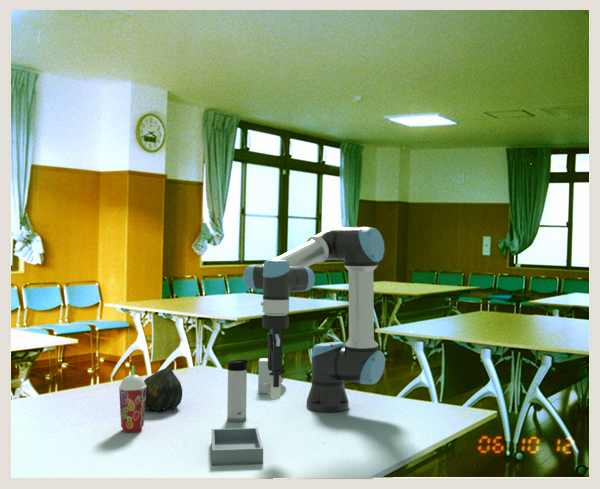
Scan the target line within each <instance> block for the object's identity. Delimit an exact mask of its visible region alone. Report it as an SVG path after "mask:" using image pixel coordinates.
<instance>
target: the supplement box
mask: <svg viewBox="0 0 600 489" xmlns="http://www.w3.org/2000/svg"><path fill="white" fill-rule="evenodd" d="M267 364H268V357H262V358H261V357H260V358H259V359H258V374H257V375H258V379H257V380H258V381H257V384H258V385H257V387H258V388H257V393H258V394H266V393H265V392H264V387H263V384H265V383H268V371H270V370H269V369H268V365H267Z"/></svg>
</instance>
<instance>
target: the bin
mask: <svg viewBox="0 0 600 489" xmlns="http://www.w3.org/2000/svg"><path fill="white" fill-rule="evenodd" d="M262 443H263V442H262V439H261V435H260V432H259V429H258V427H243V428H242V427H236V428H212V429H211V463H212V464H211V465H212V466H231V465H237V466H238V465H260V464H262V465H263V464H264V447H263V444H262Z"/></svg>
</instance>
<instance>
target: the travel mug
mask: <svg viewBox="0 0 600 489" xmlns="http://www.w3.org/2000/svg"><path fill="white" fill-rule="evenodd" d="M248 363H249V359H246V358H245V359H235V360H231V361H228V363H227V364H228V366H227V404H226V405H227V411H226V412H227V416H226V418H227V420H228V422H232V423H233V422H234V423H241V422H245V421H246V420H247V390H248V389H247V388H248V386H247V384H248V383H247V381H248V379H247V378H248V377H247V375H248V372H247V371H248V369H247V367H248V365H247V364H248Z"/></svg>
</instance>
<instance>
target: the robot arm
mask: <svg viewBox="0 0 600 489" xmlns="http://www.w3.org/2000/svg"><path fill="white" fill-rule="evenodd" d="M384 254H385V241H384V239H383V236H382V234H381V233H380V231H379V230H378V229H377V228H375V227H371V226H370V227H369V226H351V227H350V226H345V227H344V226H339V227H338V226H337V227H333V228H329V229H326V230H324V231H321V232H319V233H317V234H315V235H312V236H310V237H309V238H308V239H307V240H306V241H305V243H303V244H301V245H299V246H297V247H294V248H293V249H291V250H289V251H286V252H284V253H283V254H281V255H279V256H276V257H274V258H272V259H268V260H267V259H266V260H265V261H264V262H263V263H262V264H257V263H256V264H250V265H248V266H246V268H245V269H244V270H243V276H242V278H243V283H244V285H245V287H247V288H248V289H252V290H256V291H258V290H260V291H262V301H263V302H260V306H262V318H261V319H262V320H261V321H262V322H261V325H262V328H263V329H265V330H269V332H268V333H267V336H266V337H267V358H268V364H267V365H268V369H269V370H270V371H268V383H269V384H271V395H270V394H269V393H267V394H269V395H270V396H269V397H270V399H271V400H274V399H281V397H280V393H281V384H282V383H281V377H282V374H283V343H284V336H283V334H282V333H281V332H282V331H281V330H285V329H287V328H289V323H290V322H289V321H290V319H289V318H290V316H289V313H290V293H298V292H299V293H300V292H301V293H303V292H307V291H309V290H312V288H313V287H314V286H315V281H316V276H315V273H314V271H313V270H312V269H311V268H310V266H312V265H314V264H316V263H319V264H321V263H324V262H325V261H332V260H333V261H343V265H344V267H345V269H346V270H347V271H348V340H347V341H345V342H342V341H331V342H322V343H317V344H315V345H314V346H312V350H311V386H310V389H309V391H308V395H307V399H306V408H307V410H308V409H309V410H311V411H315V412H321V413H322V412H323V413H338V412H344V411H347V410H348V409H349V398H348V395H347V392H346V389H345V382H350V383H356V384H361V385H374V384H377V383H378V382H379V380H380V379H381V377H382V375H383V374H384V371H385V365H386V357H385V354H384V352H382V351H381V350H379V343H378V342H377V341H376V340H375V339H374V338H375V332H374V331H375V328H374V327H375V322H374V321H375V320H374V318H375V317H374V316H375V314H374V311H375V310H374V307H375V306H374V304H375V302H374V300H375V299H374V298H375V297H374V295H375V294H374V271H375V270H376V268H378V266H379V262H380V261H382V260H383V258H384ZM270 379H271V381H270Z"/></svg>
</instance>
